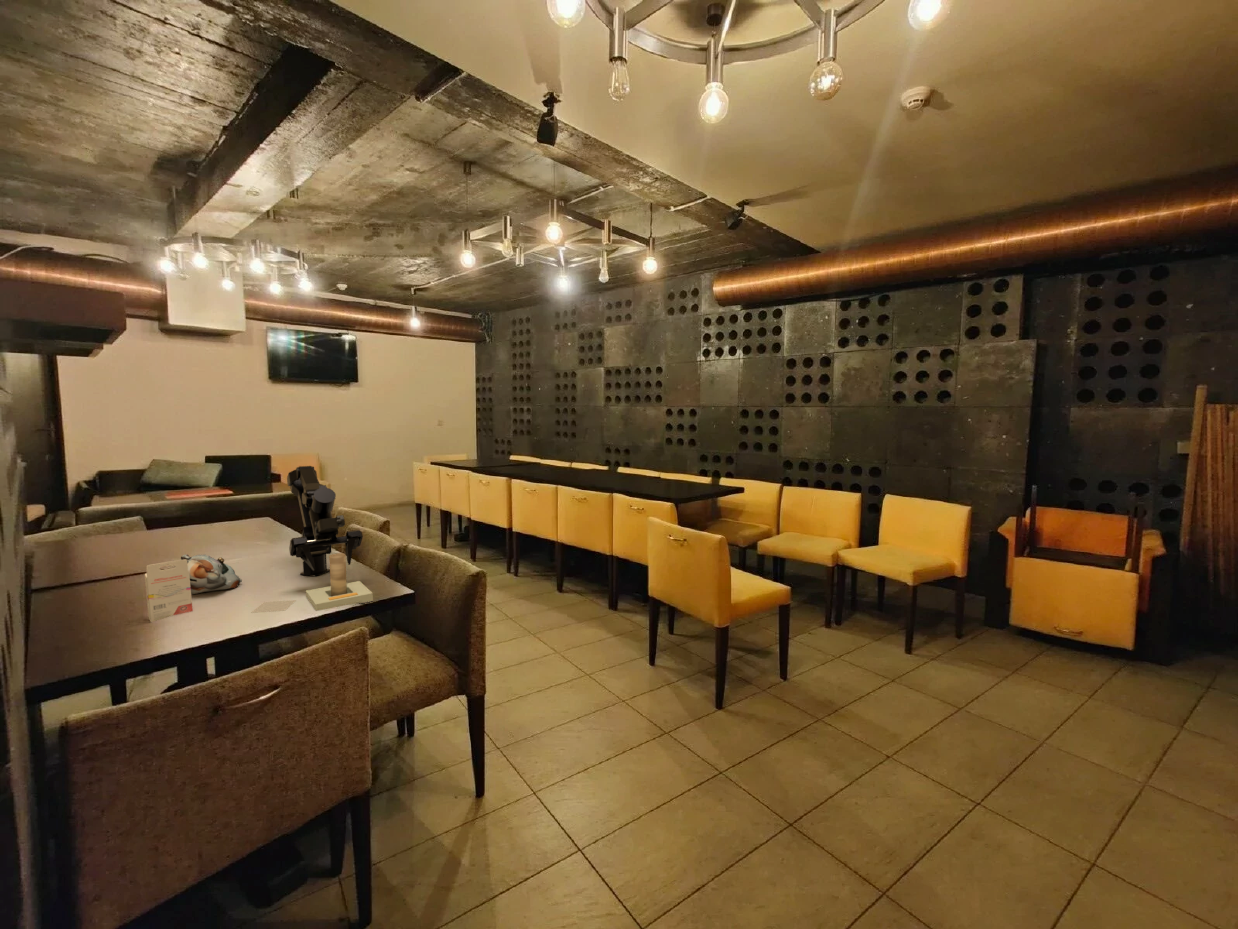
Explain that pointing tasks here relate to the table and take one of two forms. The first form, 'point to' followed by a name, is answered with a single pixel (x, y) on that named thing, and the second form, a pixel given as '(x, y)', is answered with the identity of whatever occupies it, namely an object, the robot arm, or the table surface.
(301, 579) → the table surface
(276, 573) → the table surface
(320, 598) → the socket block
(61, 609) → the table surface
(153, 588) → the ink cartridge box
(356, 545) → the robot arm
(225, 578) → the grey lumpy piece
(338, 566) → the birch peg
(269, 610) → the tab
